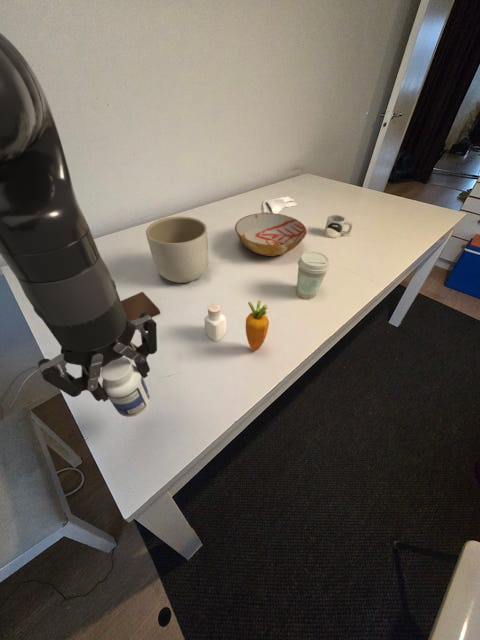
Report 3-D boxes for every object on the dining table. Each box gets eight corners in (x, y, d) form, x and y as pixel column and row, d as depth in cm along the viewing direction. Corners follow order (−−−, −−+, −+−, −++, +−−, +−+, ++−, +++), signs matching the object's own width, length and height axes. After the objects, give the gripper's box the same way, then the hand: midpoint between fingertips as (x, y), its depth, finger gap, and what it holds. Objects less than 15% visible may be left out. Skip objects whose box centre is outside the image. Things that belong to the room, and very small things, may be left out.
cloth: (281, 195, 136) (281, 190, 134) (302, 202, 129) (303, 198, 127) (246, 209, 122) (246, 204, 121) (268, 218, 116) (269, 213, 114)
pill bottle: (125, 385, 45) (107, 350, 38) (155, 390, 45) (142, 355, 38) (110, 415, 41) (86, 382, 35) (142, 420, 41) (125, 387, 34)
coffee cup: (287, 295, 78) (293, 260, 70) (299, 281, 83) (306, 247, 75) (313, 306, 75) (324, 271, 66) (324, 291, 80) (335, 256, 71)
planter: (155, 292, 78) (142, 245, 67) (158, 261, 90) (148, 217, 79) (211, 287, 80) (208, 242, 69) (208, 257, 92) (205, 215, 81)
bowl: (253, 273, 85) (254, 252, 80) (224, 239, 102) (224, 219, 96) (316, 258, 93) (321, 237, 87) (280, 228, 109) (282, 208, 103)
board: (93, 346, 63) (91, 342, 62) (79, 323, 68) (77, 319, 67) (160, 313, 72) (159, 309, 70) (143, 295, 77) (142, 291, 76)
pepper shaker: (216, 326, 68) (214, 298, 62) (227, 334, 67) (226, 306, 60) (205, 335, 66) (201, 307, 59) (216, 343, 64) (214, 315, 58)
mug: (323, 237, 104) (327, 220, 99) (323, 229, 109) (327, 213, 104) (349, 240, 103) (355, 224, 98) (348, 232, 107) (354, 216, 103)
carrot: (240, 348, 63) (241, 301, 53) (255, 339, 65) (260, 292, 55) (253, 362, 61) (257, 315, 50) (269, 352, 63) (276, 305, 52)
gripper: (128, 260, 33) (155, 346, 45) (-10, 308, 26) (65, 395, 38) (157, 289, 29) (178, 375, 41) (3, 354, 22) (82, 435, 34)
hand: (124, 384), depth 39 cm, fingers closed on pill bottle, 5 cm apart
